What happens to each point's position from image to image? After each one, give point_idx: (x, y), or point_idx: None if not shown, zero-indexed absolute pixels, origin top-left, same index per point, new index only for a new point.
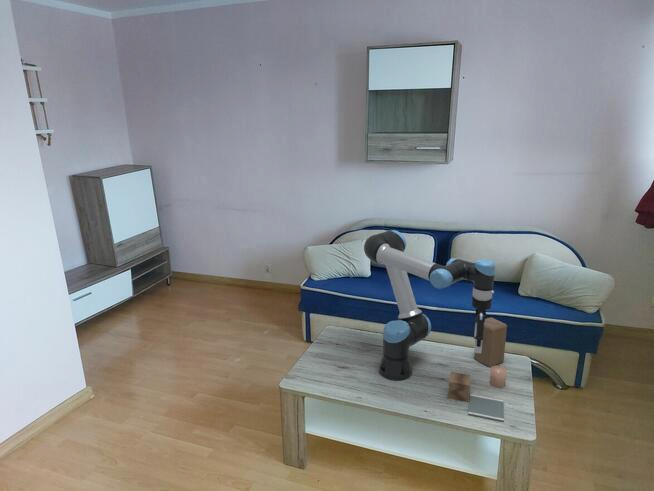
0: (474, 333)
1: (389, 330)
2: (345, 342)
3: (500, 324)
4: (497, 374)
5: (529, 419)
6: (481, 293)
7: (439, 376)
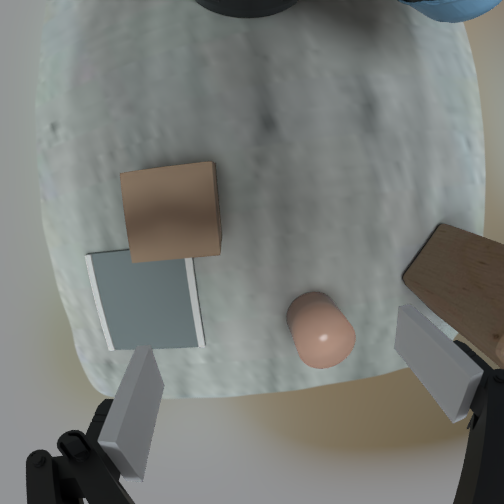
0: (418, 318)
1: None
2: None
3: None
4: (297, 342)
5: None
6: None
7: (281, 110)
